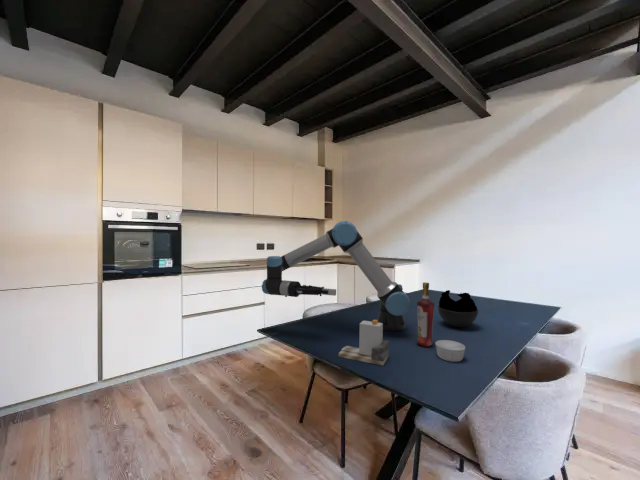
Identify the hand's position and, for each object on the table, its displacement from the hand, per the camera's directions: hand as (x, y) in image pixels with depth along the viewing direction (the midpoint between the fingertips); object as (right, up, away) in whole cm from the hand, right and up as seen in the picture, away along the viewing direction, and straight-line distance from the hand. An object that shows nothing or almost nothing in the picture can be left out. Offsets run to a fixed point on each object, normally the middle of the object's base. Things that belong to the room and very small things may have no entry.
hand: (335, 292), depth 138 cm
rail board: (+10, -23, -17) cm, 30 cm away
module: (+13, -21, -18) cm, 31 cm away
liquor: (+40, -23, -3) cm, 46 cm away
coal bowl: (+68, -23, +26) cm, 77 cm away
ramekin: (+46, -24, -16) cm, 54 cm away
